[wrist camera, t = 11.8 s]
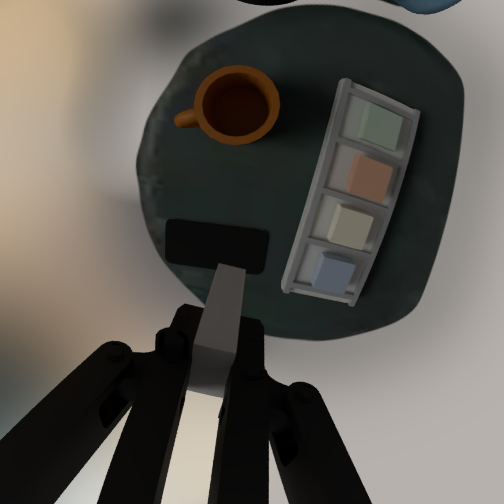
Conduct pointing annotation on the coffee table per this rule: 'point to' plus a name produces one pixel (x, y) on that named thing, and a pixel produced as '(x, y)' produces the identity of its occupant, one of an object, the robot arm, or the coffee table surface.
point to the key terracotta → (368, 178)
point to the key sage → (380, 127)
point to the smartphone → (215, 245)
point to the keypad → (333, 191)
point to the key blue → (333, 273)
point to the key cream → (350, 227)
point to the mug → (233, 105)
